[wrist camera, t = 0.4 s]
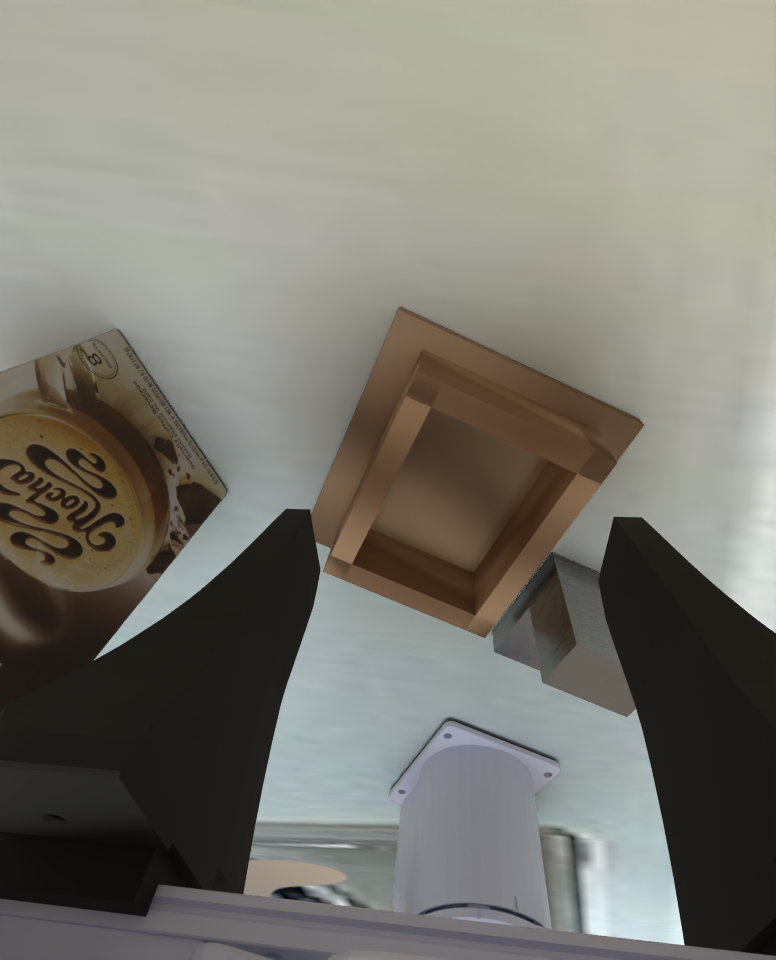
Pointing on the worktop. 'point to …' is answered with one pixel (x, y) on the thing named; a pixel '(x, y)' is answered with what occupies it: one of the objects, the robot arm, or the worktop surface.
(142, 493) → the coffee box
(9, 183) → the worktop surface
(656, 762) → the robot arm
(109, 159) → the worktop surface
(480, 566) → the tray
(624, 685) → the brushed steel block
